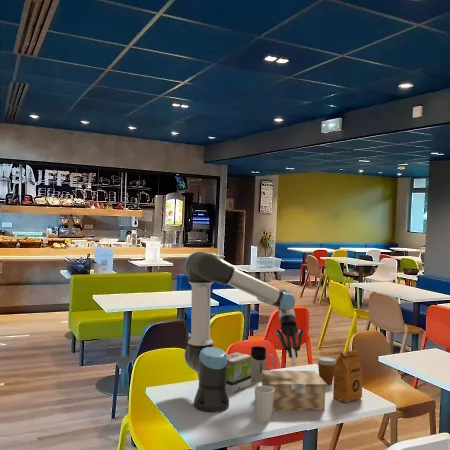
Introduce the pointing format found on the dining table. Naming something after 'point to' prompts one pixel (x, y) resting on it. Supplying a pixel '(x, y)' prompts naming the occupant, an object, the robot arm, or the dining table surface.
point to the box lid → (293, 380)
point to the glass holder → (259, 362)
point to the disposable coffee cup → (326, 368)
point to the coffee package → (347, 377)
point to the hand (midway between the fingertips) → (294, 363)
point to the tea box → (238, 371)
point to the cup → (264, 403)
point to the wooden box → (297, 398)
